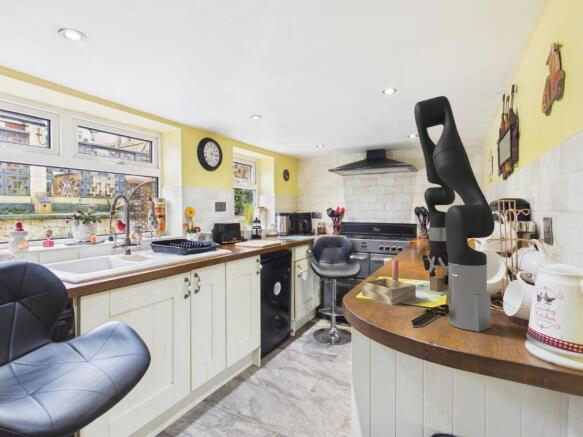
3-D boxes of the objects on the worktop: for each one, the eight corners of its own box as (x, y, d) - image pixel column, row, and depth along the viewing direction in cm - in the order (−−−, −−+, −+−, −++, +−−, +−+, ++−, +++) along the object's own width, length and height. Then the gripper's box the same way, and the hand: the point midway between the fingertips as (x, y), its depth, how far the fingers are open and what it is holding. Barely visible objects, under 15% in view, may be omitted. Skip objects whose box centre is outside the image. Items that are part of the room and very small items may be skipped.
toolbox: (415, 301, 109) (415, 284, 108) (392, 307, 102) (391, 289, 102) (384, 293, 120) (384, 277, 120) (361, 298, 114) (361, 281, 114)
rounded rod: (399, 290, 125) (399, 260, 125) (396, 291, 123) (395, 261, 123) (394, 289, 127) (394, 259, 127) (391, 289, 125) (390, 260, 125)
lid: (459, 293, 119) (459, 276, 118) (440, 298, 112) (440, 280, 112) (426, 286, 131) (426, 270, 130) (407, 290, 124) (407, 274, 124)
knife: (418, 331, 84) (418, 326, 84) (396, 324, 89) (396, 319, 89) (459, 311, 99) (459, 306, 99) (439, 306, 104) (439, 302, 104)
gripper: (417, 238, 123) (417, 281, 123) (451, 241, 110) (452, 288, 111) (429, 237, 127) (429, 278, 127) (463, 239, 114) (464, 285, 115)
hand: (440, 283), depth 119 cm, fingers open, 5 cm apart
